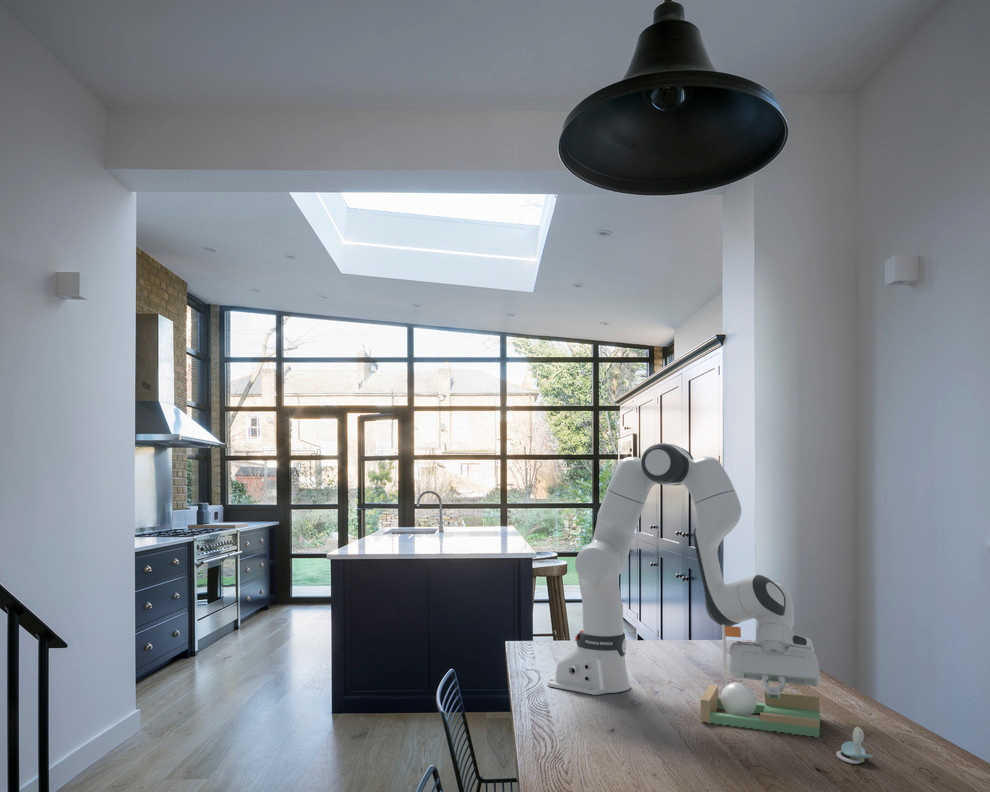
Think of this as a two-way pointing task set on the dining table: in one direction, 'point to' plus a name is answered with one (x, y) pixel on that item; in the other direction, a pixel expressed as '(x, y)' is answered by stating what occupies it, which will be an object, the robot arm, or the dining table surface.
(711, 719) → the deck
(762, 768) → the dining table surface
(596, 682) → the robot arm
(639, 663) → the dining table surface
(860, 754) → the pacifier
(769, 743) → the dining table surface
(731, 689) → the ball
